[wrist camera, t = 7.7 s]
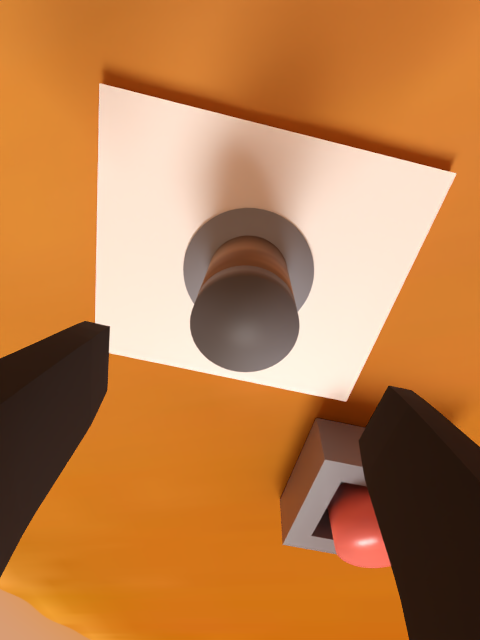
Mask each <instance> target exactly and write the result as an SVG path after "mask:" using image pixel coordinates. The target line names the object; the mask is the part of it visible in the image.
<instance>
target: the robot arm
mask: <svg viewBox="0 0 480 640" xmlns="http://www.w3.org/2000/svg"><path fill="white" fill-rule="evenodd" d="M109 339H110V326H106V325H101V324H97V323H92V322H87V321H84V322H82V323H79V324H76V325H74V326H72V327H70V328H67V329H65V330H63V331H61V332H58V333H56V334H54V335H52V336H50V337H47V338H45V339H43V340H41V341H39V342H37V343H34V344H32V345H30V346H28V347H25V348H23V349H21V350H19V351H16V352H14V353H12V354H10V355H7V356H5V357H3V358H0V577H1V575H2V573H3V571H4V569H5V567H6V566H7V564H8V562H9V560H10V558H11V556H12V554H13V552H14V550H15V548H16V546H17V544H18V542H19V541H20V539H21V537H22V535H23V533H24V531H25V530H26V528H27V526H28V525H29V523H30V521H31V520H32V518H33V516H34V514H35V513H36V511H37V510H38V508H39V506H40V505H41V503H42V502H43V500H44V499H45V497H46V495H47V494H48V492H49V491H50V489H51V488H52V486H53V484H54V483H55V481H56V480H57V478H58V477H59V475H60V473H61V472H62V470H63V469H64V467H65V466H66V464H67V462H68V461H69V459H70V458H71V456H72V455H73V453H74V451H75V450H76V448H77V447H78V445H79V443H80V442H81V440H82V439H83V437H84V435H85V434H86V432H87V431H88V429H89V427H90V426H91V424H92V422H93V420H94V418H95V416H96V413H97V411H98V409H99V407H100V405H101V403H102V401H103V398H104V396H105V394H106V392H107V384H108V361H109ZM359 448H360V455H361V461H362V467H363V472H364V478H365V482H366V485H367V489H368V492H369V495H370V499H371V502H372V505H373V509H374V512H375V515H376V519H377V522H378V525H379V528H380V531H381V535H382V538H383V541H384V544H385V548H386V551H387V554H388V557H389V561H390V564H391V567H392V570H393V574H394V577H395V581H396V584H397V588H398V592H399V595H400V599H401V603H402V608H403V613H404V617H405V622H406V626H407V631H408V636H409V640H480V447H479V446H478V445H477V444H476V443H474V442H473V441H472V440H471V439H470V438H469V437H467V436H466V435H465V434H464V433H463V432H462V431H460V430H459V429H458V428H457V427H456V426H455V425H454V424H452V423H451V422H450V421H449V420H448V419H447V418H445V417H444V416H443V415H442V414H441V413H440V412H438V411H437V410H436V409H435V408H434V407H432V406H431V405H430V404H429V403H427V402H426V401H425V400H424V399H422V398H421V397H420V396H418V395H417V394H416V393H414V392H413V391H411V390H407V389H403V388H398V387H393V386H388V388H387V390H386V392H385V393H384V395H383V397H382V399H381V401H380V402H379V404H378V406H377V408H376V410H375V412H374V413H373V415H372V417H371V419H370V421H369V423H368V424H367V426H366V428H365V430H364V432H363V433H362V435H361V437H360V439H359Z"/></svg>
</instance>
